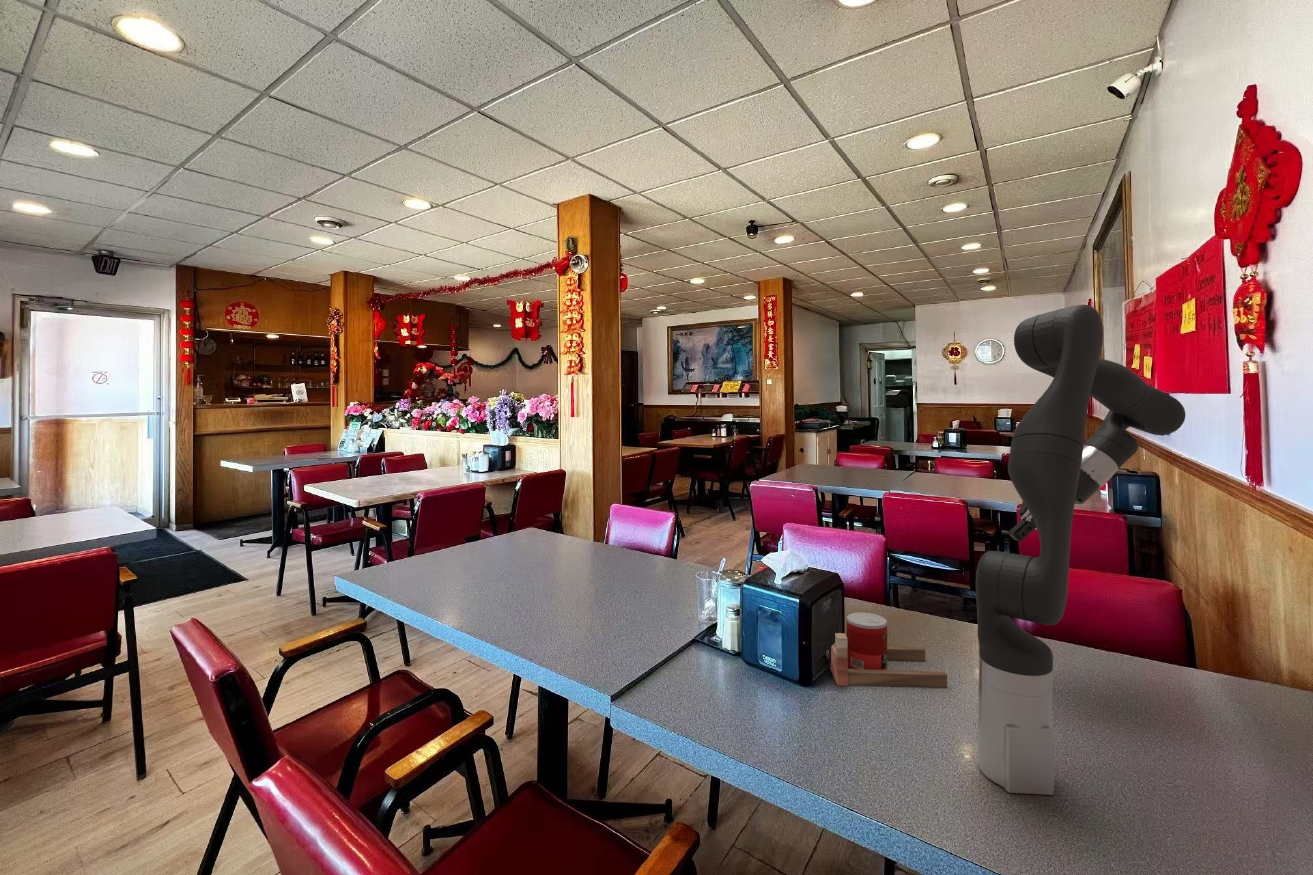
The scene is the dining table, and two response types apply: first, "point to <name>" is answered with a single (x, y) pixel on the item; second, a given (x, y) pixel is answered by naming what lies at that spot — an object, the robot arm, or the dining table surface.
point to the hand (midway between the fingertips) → (1013, 537)
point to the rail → (883, 676)
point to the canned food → (866, 641)
